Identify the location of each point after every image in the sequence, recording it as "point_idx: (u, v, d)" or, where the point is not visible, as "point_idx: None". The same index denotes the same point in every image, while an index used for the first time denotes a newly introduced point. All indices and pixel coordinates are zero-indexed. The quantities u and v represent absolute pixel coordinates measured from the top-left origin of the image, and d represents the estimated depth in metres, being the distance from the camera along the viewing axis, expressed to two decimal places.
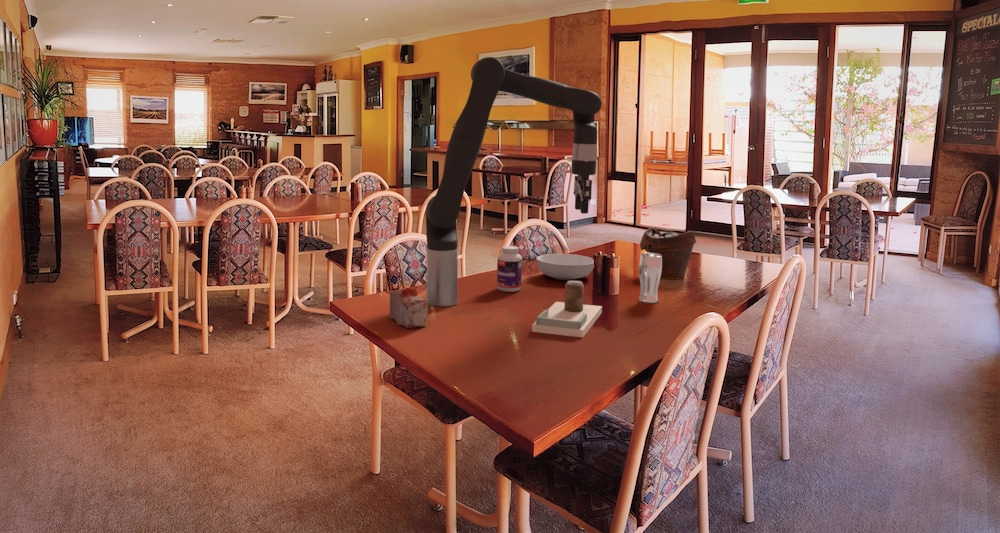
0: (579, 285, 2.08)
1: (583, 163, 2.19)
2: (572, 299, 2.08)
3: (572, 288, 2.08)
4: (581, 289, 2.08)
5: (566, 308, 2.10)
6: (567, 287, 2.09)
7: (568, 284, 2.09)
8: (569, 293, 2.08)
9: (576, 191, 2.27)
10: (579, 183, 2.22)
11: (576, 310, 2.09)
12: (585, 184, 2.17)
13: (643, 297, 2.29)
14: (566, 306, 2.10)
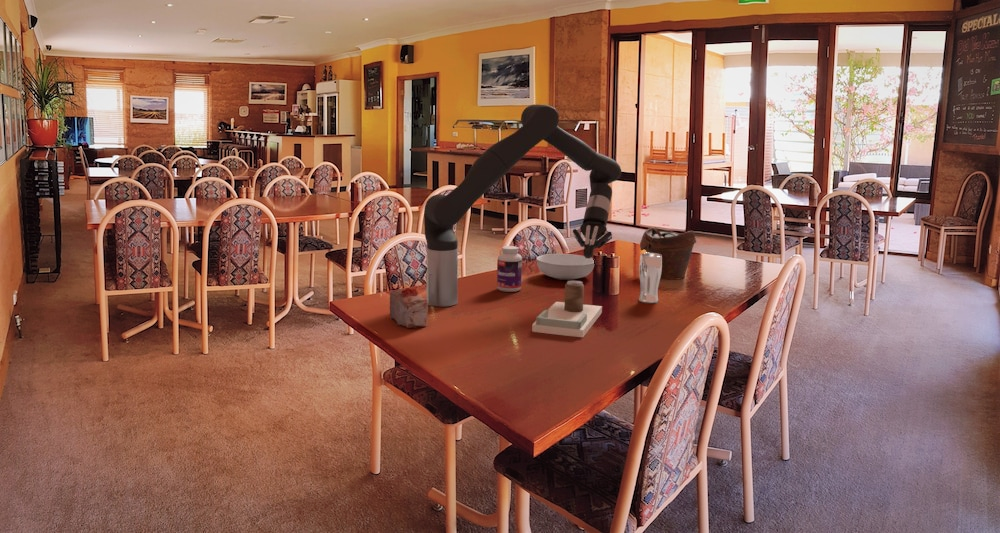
0: (579, 285, 2.08)
1: (607, 214, 2.31)
2: (572, 299, 2.08)
3: (572, 288, 2.08)
4: (581, 289, 2.08)
5: (566, 308, 2.10)
6: (567, 287, 2.09)
7: (568, 284, 2.09)
8: (569, 293, 2.08)
9: (589, 237, 2.27)
10: (598, 229, 2.28)
11: (576, 310, 2.09)
12: (609, 236, 2.26)
13: (643, 297, 2.29)
14: (566, 306, 2.10)
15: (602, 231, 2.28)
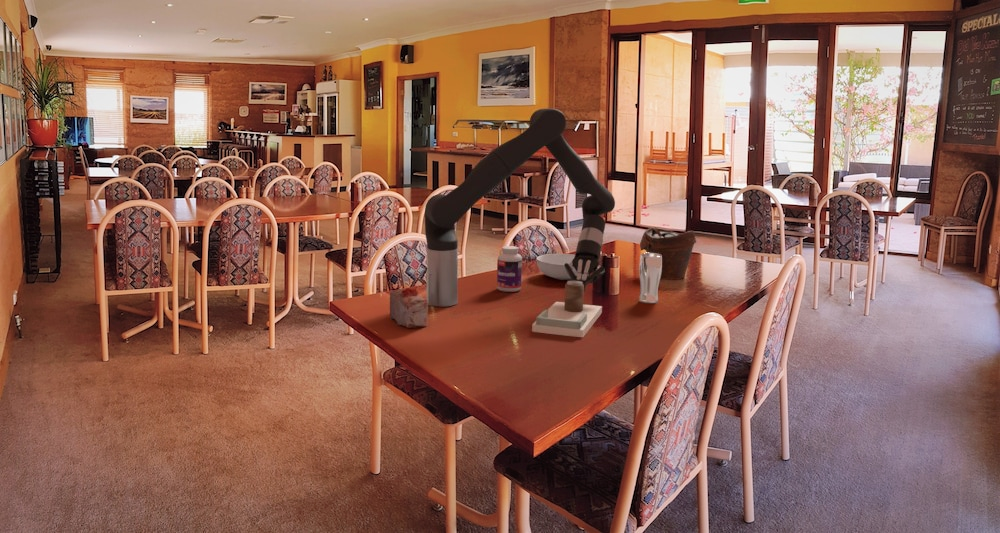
0: (579, 285, 2.08)
1: (600, 247, 2.24)
2: (572, 299, 2.08)
3: (572, 288, 2.08)
4: (581, 289, 2.08)
5: (566, 308, 2.10)
6: (567, 287, 2.09)
7: (568, 284, 2.09)
8: (569, 293, 2.08)
9: (581, 271, 2.20)
10: (590, 264, 2.20)
11: (576, 310, 2.09)
12: (601, 271, 2.19)
13: (643, 297, 2.29)
14: (566, 306, 2.10)
15: (595, 266, 2.20)
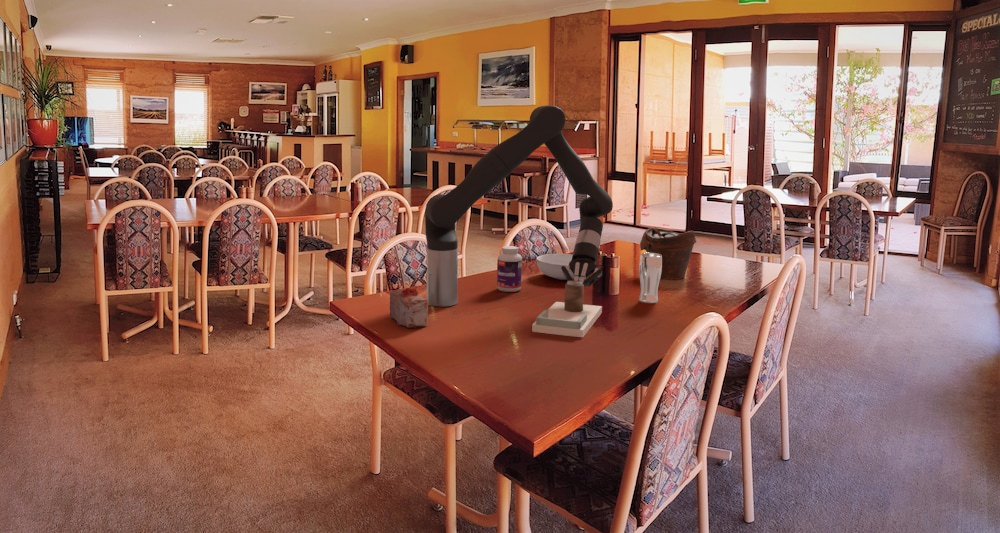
0: (579, 285, 2.08)
1: (597, 250, 2.20)
2: (572, 299, 2.08)
3: (572, 288, 2.08)
4: (581, 289, 2.08)
5: (566, 308, 2.10)
6: (567, 287, 2.09)
7: (568, 284, 2.09)
8: (569, 293, 2.08)
9: (578, 274, 2.16)
10: (587, 267, 2.17)
11: (576, 310, 2.09)
12: (599, 274, 2.16)
13: (643, 297, 2.29)
14: (566, 306, 2.10)
15: (592, 268, 2.17)
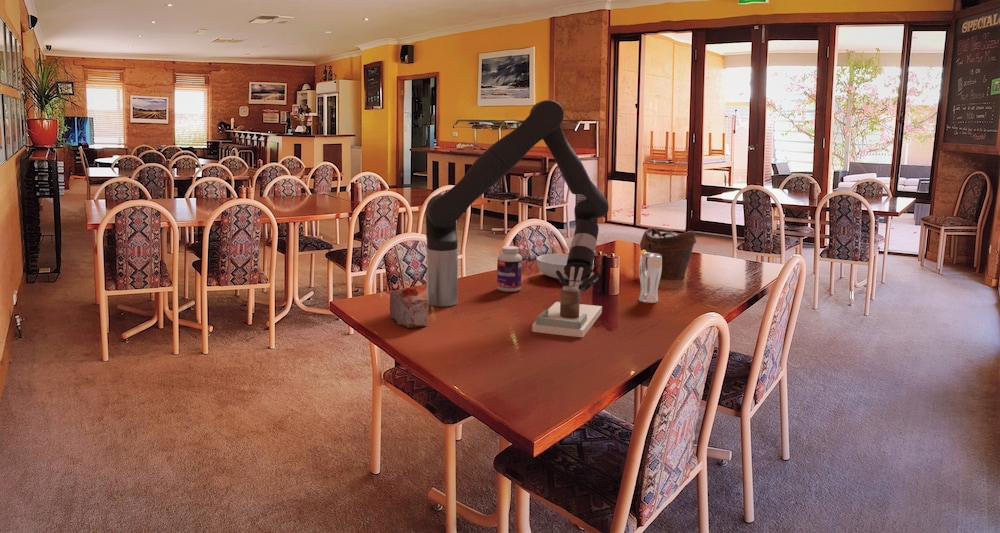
0: (575, 290, 2.02)
1: (593, 254, 2.14)
2: (568, 305, 2.02)
3: (568, 294, 2.01)
4: (577, 295, 2.02)
5: (562, 314, 2.04)
6: (563, 292, 2.02)
7: (564, 289, 2.03)
8: (564, 298, 2.02)
9: (573, 279, 2.10)
10: (583, 271, 2.11)
11: (572, 316, 2.02)
12: (594, 279, 2.09)
13: (643, 297, 2.29)
14: (562, 312, 2.03)
15: (587, 273, 2.11)
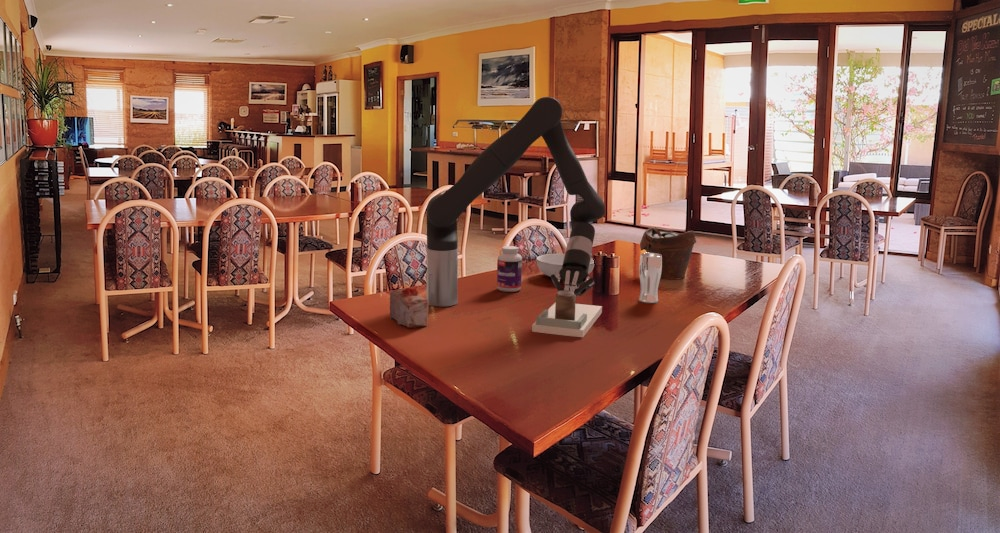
0: (570, 295, 1.96)
1: (589, 257, 2.09)
2: (563, 310, 1.96)
3: (563, 298, 1.96)
4: (572, 300, 1.96)
5: None
6: (557, 297, 1.97)
7: (559, 294, 1.97)
8: (559, 303, 1.97)
9: (569, 283, 2.05)
10: (578, 275, 2.05)
11: None
12: (590, 283, 2.04)
13: (643, 297, 2.29)
14: (556, 317, 1.98)
15: (583, 277, 2.05)
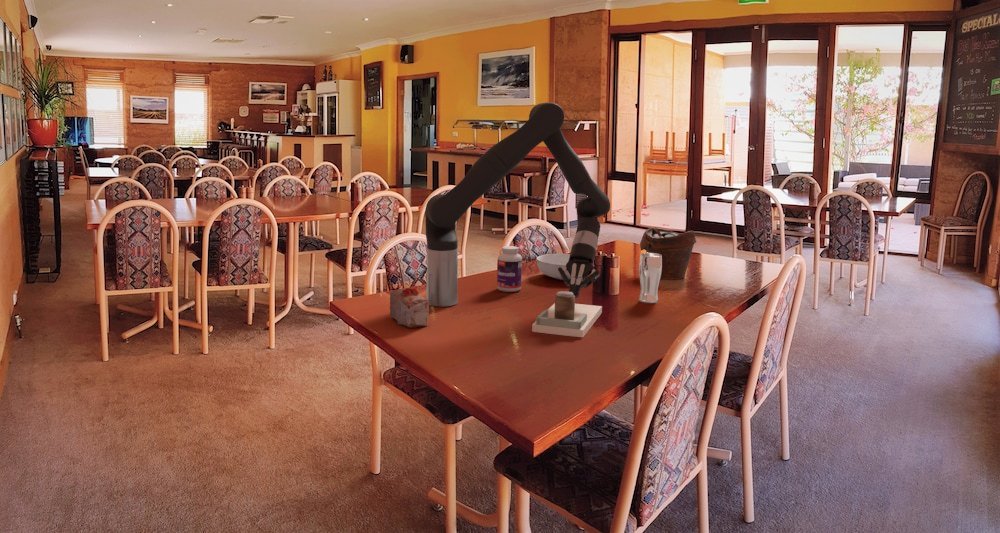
0: (569, 296, 1.95)
1: (594, 251, 2.18)
2: (562, 311, 1.96)
3: (562, 299, 1.95)
4: (572, 300, 1.95)
5: None
6: (557, 298, 1.96)
7: (558, 295, 1.96)
8: (558, 304, 1.96)
9: (575, 276, 2.14)
10: (584, 268, 2.14)
11: None
12: (596, 275, 2.13)
13: (643, 297, 2.29)
14: (556, 318, 1.97)
15: (589, 270, 2.15)
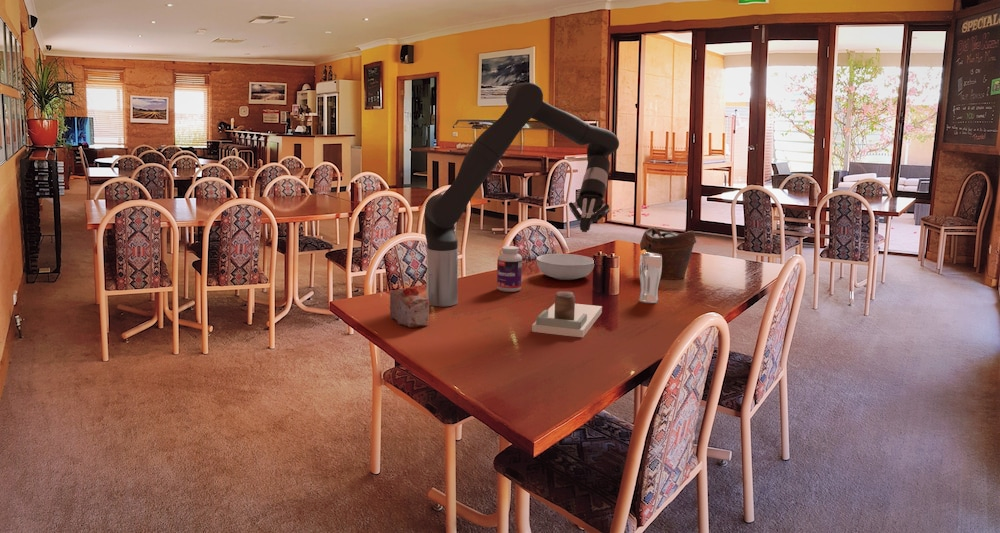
0: (569, 296, 1.95)
1: (604, 187, 2.23)
2: (562, 311, 1.96)
3: (562, 299, 1.95)
4: (572, 300, 1.95)
5: None
6: (557, 298, 1.96)
7: (558, 295, 1.96)
8: (558, 304, 1.96)
9: (586, 210, 2.19)
10: (595, 202, 2.19)
11: None
12: (606, 209, 2.18)
13: (643, 297, 2.29)
14: (556, 318, 1.97)
15: (599, 204, 2.19)
